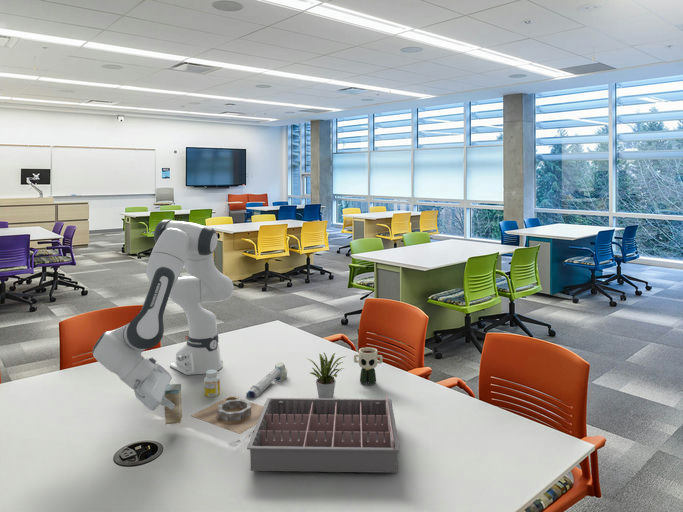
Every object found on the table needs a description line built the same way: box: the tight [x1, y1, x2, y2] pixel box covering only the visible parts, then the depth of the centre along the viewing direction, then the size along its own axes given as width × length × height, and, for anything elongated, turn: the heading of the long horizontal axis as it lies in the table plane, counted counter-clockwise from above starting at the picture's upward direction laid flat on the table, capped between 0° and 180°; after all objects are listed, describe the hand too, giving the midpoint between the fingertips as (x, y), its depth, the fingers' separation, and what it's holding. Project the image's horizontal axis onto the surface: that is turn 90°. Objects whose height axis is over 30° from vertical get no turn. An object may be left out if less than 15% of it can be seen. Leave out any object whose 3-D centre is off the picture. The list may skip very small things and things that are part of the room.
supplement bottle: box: [203, 369, 221, 398], centre depth 181 cm, size 5×5×10 cm
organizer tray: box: [246, 394, 401, 473], centre depth 147 cm, size 32×40×10 cm
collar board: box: [190, 398, 265, 435], centre depth 166 cm, size 22×18×4 cm
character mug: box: [353, 346, 383, 386], centre depth 193 cm, size 11×7×13 cm, turn 84°
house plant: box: [308, 352, 348, 399], centre depth 180 cm, size 14×14×16 cm
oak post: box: [163, 383, 183, 426], centre depth 156 cm, size 4×4×11 cm
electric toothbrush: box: [245, 362, 288, 399], centre depth 190 cm, size 5×7×25 cm
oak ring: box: [223, 395, 240, 402], centre depth 175 cm, size 5×5×1 cm
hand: (175, 402), depth 156 cm, fingers closed on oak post, 4 cm apart
